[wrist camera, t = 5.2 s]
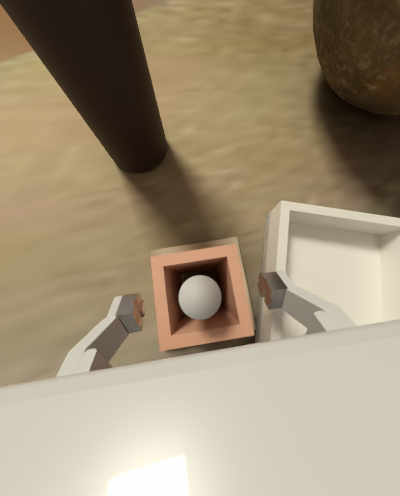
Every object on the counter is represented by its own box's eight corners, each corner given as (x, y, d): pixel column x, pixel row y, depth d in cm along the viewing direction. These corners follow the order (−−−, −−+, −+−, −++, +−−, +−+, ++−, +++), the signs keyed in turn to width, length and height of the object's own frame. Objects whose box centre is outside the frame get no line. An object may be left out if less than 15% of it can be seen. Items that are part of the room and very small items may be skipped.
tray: (253, 351, 16) (268, 370, 13) (266, 215, 19) (281, 200, 15) (382, 375, 16) (433, 400, 12) (377, 232, 18) (417, 220, 15)
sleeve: (180, 317, 16) (160, 351, 8) (173, 268, 17) (150, 257, 9) (228, 309, 16) (254, 335, 8) (219, 261, 17) (235, 243, 9)
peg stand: (161, 342, 16) (96, 444, 6) (152, 252, 18) (89, 213, 8) (253, 327, 17) (337, 400, 6) (235, 239, 18) (278, 185, 8)
